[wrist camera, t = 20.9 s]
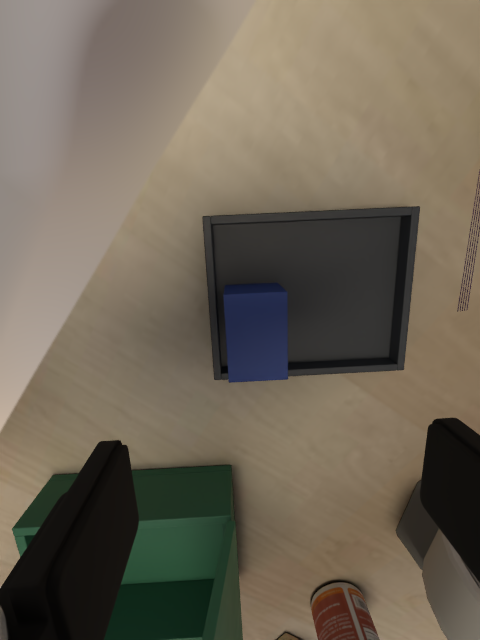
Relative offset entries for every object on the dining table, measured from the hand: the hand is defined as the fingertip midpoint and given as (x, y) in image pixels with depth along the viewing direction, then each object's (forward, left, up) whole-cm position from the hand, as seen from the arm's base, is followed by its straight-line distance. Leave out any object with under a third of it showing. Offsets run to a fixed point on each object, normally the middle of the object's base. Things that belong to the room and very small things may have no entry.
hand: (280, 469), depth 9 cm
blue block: (0, 0, -17) cm, 17 cm away
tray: (+5, +2, -18) cm, 18 cm away
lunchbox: (-11, -22, -18) cm, 30 cm away
